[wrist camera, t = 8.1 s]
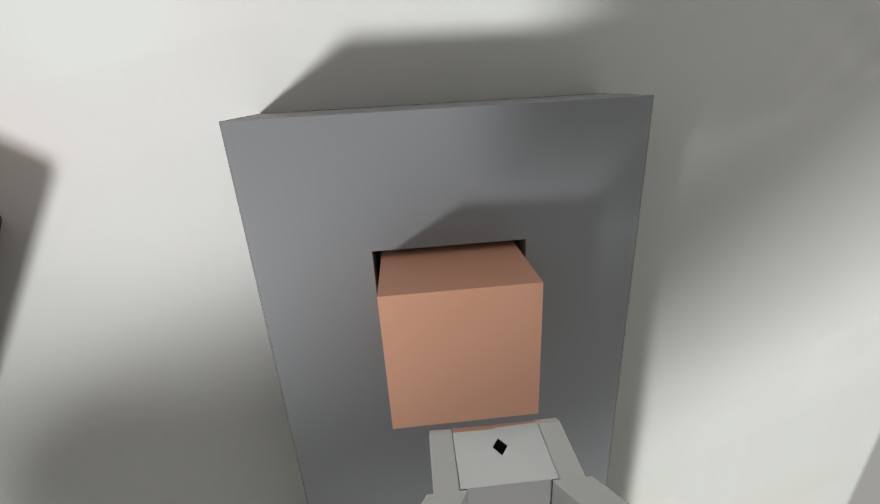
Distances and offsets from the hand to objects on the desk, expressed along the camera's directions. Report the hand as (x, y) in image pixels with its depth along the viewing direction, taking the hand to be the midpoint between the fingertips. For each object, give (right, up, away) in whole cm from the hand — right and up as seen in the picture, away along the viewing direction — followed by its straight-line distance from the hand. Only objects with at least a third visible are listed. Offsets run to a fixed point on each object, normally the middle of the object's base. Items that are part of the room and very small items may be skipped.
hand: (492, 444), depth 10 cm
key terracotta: (-1, +2, +7) cm, 8 cm away
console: (-1, -3, +13) cm, 13 cm away
